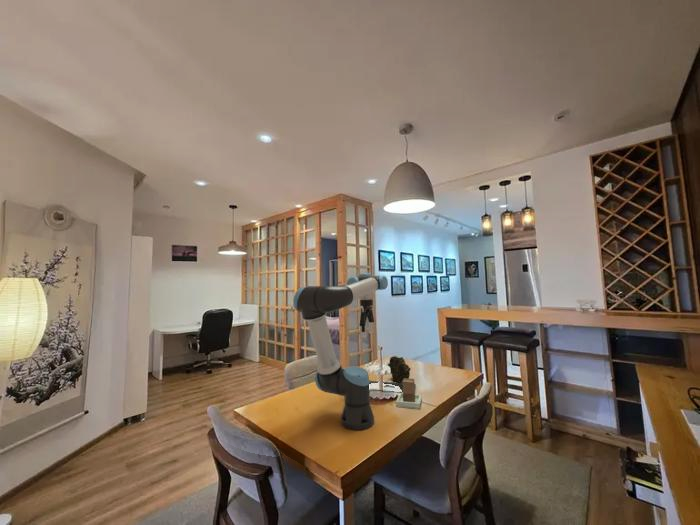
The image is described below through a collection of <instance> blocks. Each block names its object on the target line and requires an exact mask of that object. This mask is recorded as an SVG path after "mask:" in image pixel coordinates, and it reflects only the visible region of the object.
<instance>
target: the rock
mask: <svg viewBox="0 0 700 525" xmlns="http://www.w3.org/2000/svg"><path fill="white" fill-rule="evenodd" d="M387 367H389V368H390V374H391V378H392V382H395V383H402V381H403V379H404V378H408V379H410V374H411V373H410V371H411V367H409V365H408V364H407V363H406V361H405V359H404V357H403V356H401V357H398V356H396V355H395V356H394V355H393V356H391V357H390V358H389V363H388V364H387Z"/></svg>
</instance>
